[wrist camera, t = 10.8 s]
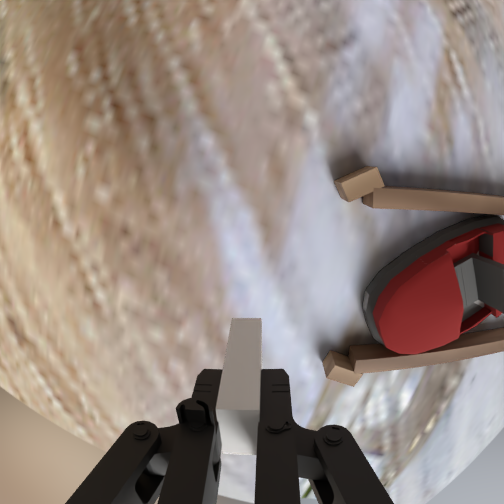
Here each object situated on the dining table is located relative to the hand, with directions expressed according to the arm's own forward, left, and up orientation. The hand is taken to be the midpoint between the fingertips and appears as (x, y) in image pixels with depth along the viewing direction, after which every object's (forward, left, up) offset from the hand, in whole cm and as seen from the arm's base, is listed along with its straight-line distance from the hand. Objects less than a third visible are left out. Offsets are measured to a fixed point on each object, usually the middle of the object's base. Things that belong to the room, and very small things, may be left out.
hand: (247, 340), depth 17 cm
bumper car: (0, +19, -11) cm, 22 cm away
